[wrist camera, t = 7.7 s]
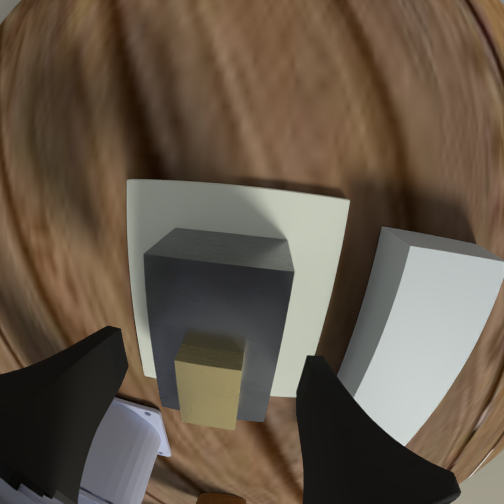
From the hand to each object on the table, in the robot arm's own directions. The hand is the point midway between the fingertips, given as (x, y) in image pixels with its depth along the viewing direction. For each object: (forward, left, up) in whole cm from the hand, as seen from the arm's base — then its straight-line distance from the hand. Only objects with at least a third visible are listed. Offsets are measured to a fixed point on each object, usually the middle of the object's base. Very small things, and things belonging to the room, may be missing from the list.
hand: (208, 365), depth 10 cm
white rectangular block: (+11, -3, -4) cm, 12 cm away
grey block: (0, 0, -4) cm, 4 cm away
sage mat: (0, 0, -4) cm, 4 cm away
